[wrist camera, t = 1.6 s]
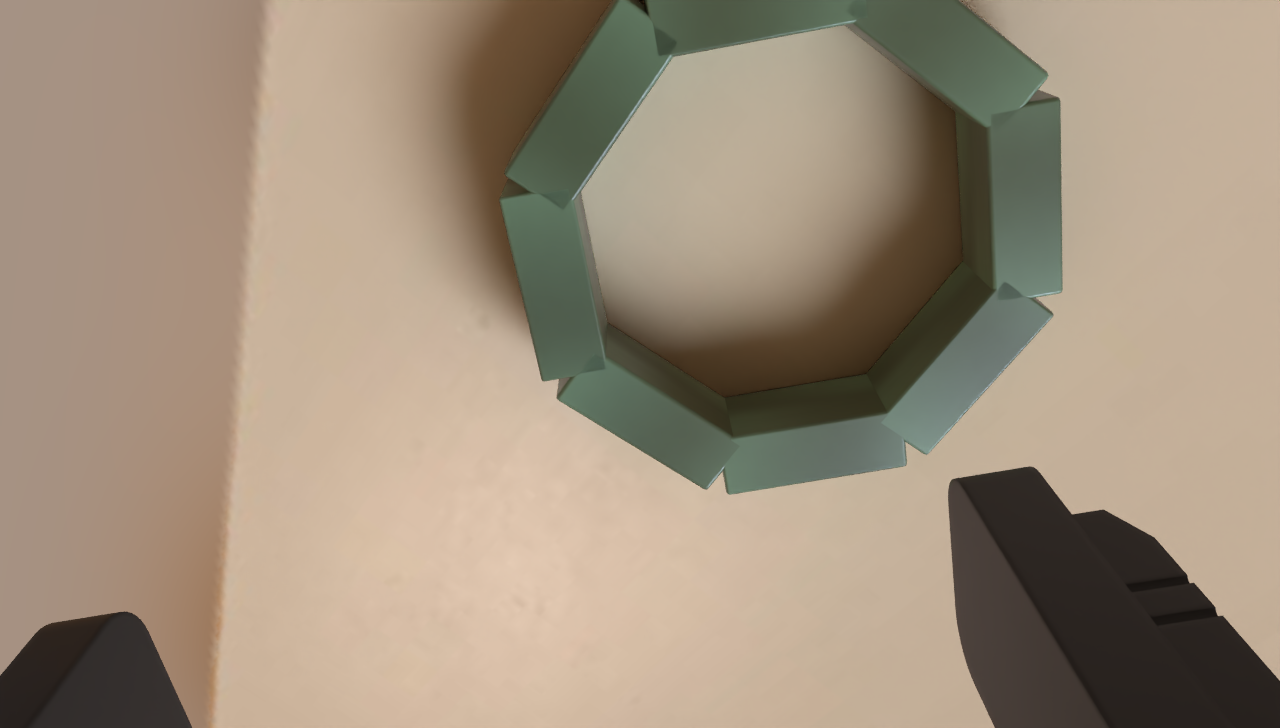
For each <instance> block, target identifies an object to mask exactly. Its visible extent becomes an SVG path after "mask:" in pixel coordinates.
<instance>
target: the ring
mask: <svg viewBox="0 0 1280 728" xmlns="http://www.w3.org/2000/svg"><path fill="white" fill-rule="evenodd" d="M644 2H645V6H644V5H643V4H642V3H640V2H639V1H638V0H612V1H611V2H610V4H609V5H608V7H607V8H606V10H605V11H604V13H603V14H602V16H601V18H600V19H599V21H598V22H597V24H596V25H595V27H594V28H593V30H592V31H591V33H590V35H589V36H588V38H587V39H586V41H585V42H584V44H583V45H582V47H581V48H580V50H579V51H578V53H577V55H576V56H575V58H574V59H573V61H572V62H571V64H570V65H569V67H568V68H567V70H566V71H565V73H564V75H563V76H562V78H561V79H560V81H559V82H558V84H557V85H556V87H555V88H554V90H553V92H552V93H551V95H550V96H549V98H548V99H547V101H546V102H545V104H544V105H543V107H542V108H541V110H540V112H539V113H538V115H537V116H536V118H535V119H534V121H533V122H532V124H531V125H530V127H529V129H528V130H527V132H526V133H525V135H524V136H523V138H522V139H521V141H520V142H519V144H518V145H517V147H516V149H515V150H514V152H513V154H512V156H511V158H510V160H509V163H508V165H507V167H506V169H505V173H504V174H505V175H506V177H508V180H507V183H506V185H505V187H504V189H503V192H502V194H501V196H500V199H499V202H500V206H501V210H502V214H503V218H504V223H505V227H506V231H507V235H508V240H509V244H510V248H511V252H512V257H513V261H514V265H515V269H516V273H517V278H518V282H519V286H520V290H521V295H522V299H523V303H524V307H525V312H526V316H527V320H528V324H529V328H530V333H531V337H532V341H533V345H534V350H535V354H536V358H537V362H538V367H539V371H540V375H541V379H542V380H543V381H549V380H555V379H559V383H558V390H557V399H558V400H559V401H561V402H562V403H564V404H566V405H567V406H569V407H570V408H572V409H574V410H575V411H577V412H579V413H580V414H582V415H584V416H585V417H587V418H588V419H590V420H592V421H593V422H595V423H597V424H598V425H600V426H602V427H603V428H605V429H606V430H608V431H610V432H611V433H613V434H615V435H616V436H618V437H620V438H621V439H623V440H624V441H626V442H628V443H629V444H631V445H633V446H634V447H636V448H638V449H639V450H641V451H643V452H644V453H646V454H647V455H649V456H651V457H652V458H654V459H656V460H657V461H659V462H661V463H662V464H664V465H665V466H667V467H669V468H670V469H672V470H674V471H675V472H677V473H679V474H680V475H682V476H683V477H685V478H687V479H688V480H690V481H692V482H693V483H695V484H697V485H698V486H700V487H701V488H703V489H708V488H709V487H710V486H711V484H712V483H713V482H714V481H715V480H716V478H717V477H718V476H719V475H720V473H721V472H722V471H723V477H724V482H725V487H726V492H727V493H728V494H730V495H731V494H737V493H743V492H749V491H755V490H762V489H768V488H774V487H780V486H786V485H792V484H799V483H805V482H811V481H817V480H823V479H829V478H836V477H842V476H848V475H854V474H860V473H866V472H873V471H879V470H885V469H891V468H897V467H903V466H906V464H907V458H906V446H905V442H907V443H908V444H910V445H911V446H913V447H914V448H916V449H917V450H919V451H920V452H922V453H923V454H926V455H927V454H928V453H929V452H930V451H931V450H932V449H933V448H934V447H935V446H936V445H937V444H938V442H939V441H940V440H941V439H942V438H943V437H944V436H945V435H946V434H947V433H948V431H949V430H950V429H951V428H952V427H953V426H954V425H955V424H956V423H957V422H958V420H959V419H960V418H961V417H962V416H963V415H964V414H965V413H966V412H967V411H968V409H969V408H970V407H971V406H972V405H973V404H974V403H975V402H976V401H977V400H978V398H979V397H980V396H981V395H982V394H983V393H984V392H985V391H986V390H987V389H988V387H989V386H990V385H991V384H992V383H993V382H994V381H995V380H996V379H997V377H998V376H999V375H1000V374H1001V373H1002V372H1003V371H1004V370H1005V369H1006V368H1007V366H1008V365H1009V364H1010V363H1011V362H1012V361H1013V360H1014V359H1015V358H1016V357H1017V355H1018V354H1019V353H1020V352H1021V351H1022V350H1023V349H1024V348H1025V347H1026V346H1027V344H1028V343H1029V342H1030V341H1031V340H1032V339H1033V338H1034V337H1035V336H1036V335H1037V333H1038V332H1039V331H1040V330H1041V329H1042V328H1043V327H1044V326H1045V325H1046V324H1047V322H1048V321H1049V320H1050V319H1051V318H1052V317H1053V313H1052V312H1051V311H1050V310H1049V309H1048V308H1047V307H1046V306H1045V305H1043V304H1042V303H1041V302H1040V301H1039V300H1038V299H1037V298H1036V297H1041V296H1047V295H1052V294H1058V293H1061V292H1062V205H1061V119H1060V99H1059V98H1058V97H1056V96H1053V95H1051V94H1048V93H1045V92H1043V91H1040V90H1038V89H1039V88H1040V86H1041V85H1042V84H1043V83H1044V82H1045V80H1046V79H1047V77H1048V74H1047V71H1045V70H1044V69H1043V68H1042V67H1040V66H1039V65H1038V64H1037V63H1036V62H1034V61H1033V60H1032V59H1031V58H1029V57H1028V56H1027V55H1026V54H1024V53H1023V52H1022V51H1021V50H1020V49H1018V48H1017V47H1016V46H1015V45H1013V44H1012V43H1011V42H1010V41H1009V40H1007V39H1006V38H1005V37H1004V36H1002V35H1001V34H1000V33H999V32H998V31H996V30H995V29H994V28H993V27H991V26H990V25H989V24H988V23H986V22H985V21H984V20H983V19H982V18H980V17H979V16H978V15H977V14H975V13H974V12H973V11H972V10H971V9H969V8H968V7H967V6H966V5H964V4H963V3H962V2H961V1H960V0H644ZM842 25H845V26H846V27H848V28H849V29H850V30H852V31H853V32H854V33H855V34H857V35H858V36H859V37H861V38H862V39H863V40H864V41H866V42H867V43H868V44H870V45H871V46H872V47H873V48H875V49H876V50H877V51H878V52H880V53H881V54H882V55H884V56H885V57H886V58H887V59H889V60H890V61H891V62H893V63H894V64H895V65H896V66H898V67H899V68H900V69H902V70H903V71H904V72H905V73H907V74H908V75H909V76H911V77H912V78H913V79H914V80H916V81H917V82H918V83H920V84H921V85H922V86H923V87H925V88H926V89H927V90H929V91H930V92H931V93H932V94H934V95H935V96H936V97H938V98H939V99H940V100H941V101H943V102H944V103H945V104H946V105H948V106H949V107H950V108H952V109H953V110H954V111H955V116H956V135H957V155H958V174H959V193H960V212H961V231H962V250H963V261H962V262H961V264H960V265H959V266H958V267H957V268H956V269H955V271H954V272H953V273H952V274H951V275H950V276H949V278H948V279H947V280H946V281H945V282H944V283H943V285H942V286H941V287H940V288H939V289H938V291H937V292H936V293H935V294H934V295H933V296H932V298H931V299H930V300H929V301H928V302H927V303H926V305H925V306H924V307H923V308H922V309H921V310H920V312H919V313H918V314H917V315H916V316H915V317H914V319H913V320H912V321H911V322H910V323H909V325H908V326H907V327H906V328H905V329H904V330H903V332H902V333H901V334H900V335H899V336H898V337H897V339H896V340H895V341H894V342H893V343H892V344H891V346H890V347H889V348H888V349H887V350H886V351H885V353H884V354H883V355H882V356H881V357H880V359H879V360H878V361H877V362H876V363H875V364H874V366H873V367H872V368H871V369H870V370H869V371H868V373H867V374H864V375H858V376H852V377H846V378H840V379H834V380H828V381H822V382H816V383H810V384H804V385H798V386H792V387H786V388H780V389H774V390H768V391H762V392H756V393H750V394H744V395H738V396H732V397H726V398H724V397H722V396H721V395H719V394H717V393H716V392H714V391H713V390H711V389H710V388H708V387H707V386H705V385H703V384H702V383H700V382H699V381H697V380H696V379H694V378H692V377H691V376H689V375H688V374H686V373H685V372H683V371H682V370H680V369H678V368H677V367H675V366H674V365H672V364H671V363H669V362H668V361H666V360H664V359H663V358H661V357H660V356H658V355H657V354H655V353H653V352H652V351H650V350H649V349H647V348H646V347H644V346H643V345H641V344H639V343H638V342H636V341H635V340H633V339H632V338H630V337H629V336H627V335H625V334H624V333H622V332H621V331H619V330H618V329H616V328H614V327H613V326H611V325H610V324H608V323H607V319H606V314H605V309H604V304H603V299H602V294H601V289H600V284H599V279H598V274H597V269H596V264H595V259H594V255H593V250H592V245H591V240H590V235H589V230H588V225H587V220H586V215H585V210H584V205H583V200H582V195H581V191H582V189H583V188H584V186H585V185H586V184H587V182H588V181H589V179H590V178H591V176H592V175H593V173H594V172H595V170H596V169H597V167H598V166H599V165H600V163H601V162H602V160H603V159H604V157H605V156H606V154H607V153H608V151H609V150H610V148H611V147H612V146H613V144H614V143H615V141H616V140H617V138H618V137H619V135H620V134H621V132H622V131H623V129H624V128H625V127H626V125H627V124H628V122H629V121H630V119H631V118H632V116H633V115H634V113H635V112H636V111H637V109H638V108H639V106H640V105H641V103H642V102H643V100H644V99H645V97H646V96H647V94H648V93H649V92H650V90H651V89H652V87H653V86H654V84H655V83H656V81H657V80H658V78H659V77H660V75H661V74H662V73H663V71H664V70H665V68H666V67H667V65H668V64H669V62H670V61H671V59H672V58H673V57H674V56H680V55H685V54H691V53H696V52H701V51H707V50H712V49H718V48H723V47H728V46H734V45H739V44H744V43H750V42H755V41H761V40H766V39H771V38H777V37H782V36H788V35H793V34H798V33H804V32H809V31H815V30H820V29H825V28H831V27H836V26H842Z"/></svg>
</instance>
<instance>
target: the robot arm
mask: <svg viewBox="0 0 1280 728" xmlns="http://www.w3.org/2000/svg"><path fill="white" fill-rule="evenodd" d="M948 504H949V519H950V534H951V549H952V563H953V578H954V592H955V607H956V618H957V625H958V630H959V636H960V640H961V645H962V649H963V652H964V656H965V659H966V663H967V666H968V669H969V671H970V674H971V677H972V679H973V681H974V684H975V686H976V688H977V690H978V692H979V694H980V697H981V699H982V701H983V703H984V705H985V707H986V709H987V712H988V714H989V716H990V718H991V720H992V722H993V724H994V727H995V728H1280V681H1279V680H1278V678H1277V677H1276V676H1275V675H1274V674H1273V673H1272V672H1271V670H1270V669H1269V668H1268V667H1267V666H1266V665H1265V664H1264V662H1263V661H1262V660H1261V659H1260V658H1259V657H1258V656H1257V654H1256V653H1255V652H1254V651H1253V650H1252V649H1251V648H1250V646H1249V645H1248V644H1247V643H1246V642H1245V641H1244V640H1243V638H1242V637H1241V636H1240V635H1239V634H1238V633H1237V632H1236V630H1235V629H1234V628H1233V627H1232V626H1231V625H1230V624H1229V622H1228V621H1227V620H1226V619H1225V618H1224V617H1223V616H1218V615H1217V613H1216V610H1215V606H1214V605H1213V604H1212V603H1211V602H1210V601H1209V600H1208V598H1207V597H1206V596H1205V595H1204V594H1203V593H1202V591H1201V590H1200V589H1199V588H1198V587H1197V586H1196V585H1195V583H1189V581H1188V578H1187V574H1186V573H1185V572H1184V571H1183V570H1182V569H1181V567H1180V566H1179V565H1178V564H1177V563H1176V562H1175V561H1174V559H1173V558H1172V557H1171V556H1170V555H1169V554H1168V553H1167V551H1166V550H1165V549H1164V548H1163V547H1162V546H1161V545H1160V543H1159V542H1158V541H1157V540H1156V539H1155V538H1154V537H1152V536H1151V535H1149V534H1147V533H1145V532H1143V531H1141V530H1140V529H1138V528H1136V527H1134V526H1132V525H1131V524H1129V523H1127V522H1125V521H1123V520H1121V519H1120V518H1118V517H1116V516H1114V515H1112V514H1111V513H1109V512H1107V511H1105V510H1098V511H1092V512H1086V513H1079V514H1073V515H1072V514H1071V513H1070V512H1069V510H1068V509H1067V508H1066V506H1065V505H1064V504H1063V502H1062V501H1061V500H1060V499H1059V497H1058V496H1057V495H1056V493H1055V492H1054V491H1053V489H1052V488H1051V487H1050V486H1049V484H1048V483H1047V482H1046V480H1045V479H1044V478H1043V476H1042V475H1041V474H1040V473H1039V472H1038V470H1037V469H1035V468H1034V467H1024V468H1018V469H1012V470H1005V471H999V472H993V473H987V474H981V475H975V476H968V477H962V478H956V479H952V480H951V482H950V485H949V491H948ZM0 728H192V726H191V724H190V722H189V720H188V717H187V715H186V713H185V711H184V709H183V706H182V705H181V702H180V700H179V698H178V695H177V693H176V691H175V689H174V687H173V685H172V682H171V680H170V678H169V676H168V674H167V671H166V669H165V667H164V665H163V663H162V660H161V659H160V656H159V654H158V652H157V650H156V647H155V645H154V643H153V641H152V639H151V636H150V634H149V632H148V630H147V628H146V626H145V625H144V624H143V622H142V621H141V620H140V619H139V618H138V617H137V616H136V615H134V614H132V613H129V612H118V613H111V614H106V615H99V616H94V617H87V618H81V619H75V620H68V621H62V622H56V623H51V624H48V625H46V626H44V627H43V628H41V629H40V630H39V631H38V632H37V633H36V634H35V635H34V636H33V637H32V638H31V640H30V641H29V642H28V643H27V644H26V646H25V647H24V648H23V649H22V650H21V652H20V653H19V654H18V655H17V656H16V658H15V659H14V660H13V661H12V662H11V664H10V665H9V666H8V667H7V669H6V670H5V671H4V672H3V673H2V674H1V676H0Z"/></svg>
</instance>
